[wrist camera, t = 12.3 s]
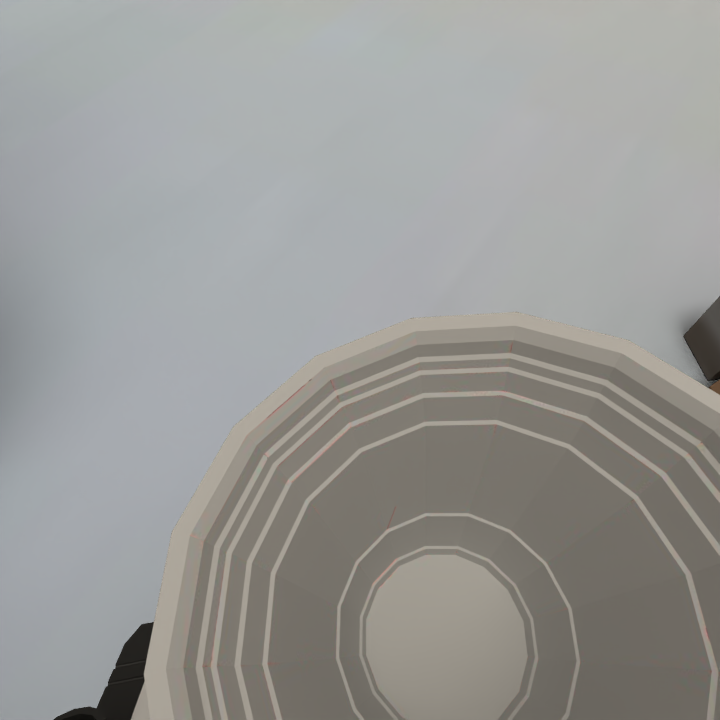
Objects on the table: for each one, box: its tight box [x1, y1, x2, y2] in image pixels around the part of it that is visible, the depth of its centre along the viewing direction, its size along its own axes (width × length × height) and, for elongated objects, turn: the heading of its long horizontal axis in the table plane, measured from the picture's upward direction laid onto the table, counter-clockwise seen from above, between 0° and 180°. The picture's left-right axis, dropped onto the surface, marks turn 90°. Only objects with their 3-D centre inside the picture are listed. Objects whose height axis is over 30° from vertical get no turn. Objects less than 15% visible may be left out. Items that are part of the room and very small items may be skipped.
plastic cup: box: [144, 312, 720, 720], centre depth 13 cm, size 11×11×12 cm
